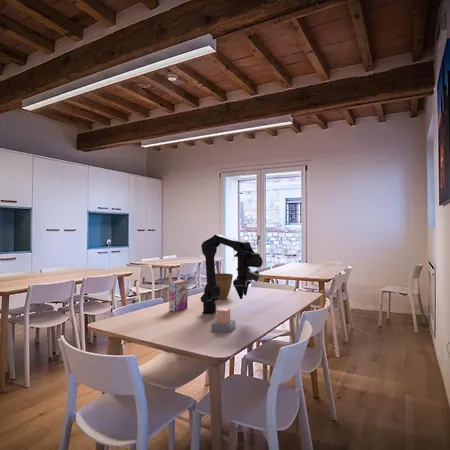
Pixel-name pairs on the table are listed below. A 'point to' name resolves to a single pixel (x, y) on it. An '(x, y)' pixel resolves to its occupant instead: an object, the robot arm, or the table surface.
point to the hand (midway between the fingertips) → (243, 297)
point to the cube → (223, 315)
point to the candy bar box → (178, 295)
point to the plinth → (223, 326)
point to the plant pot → (224, 284)
